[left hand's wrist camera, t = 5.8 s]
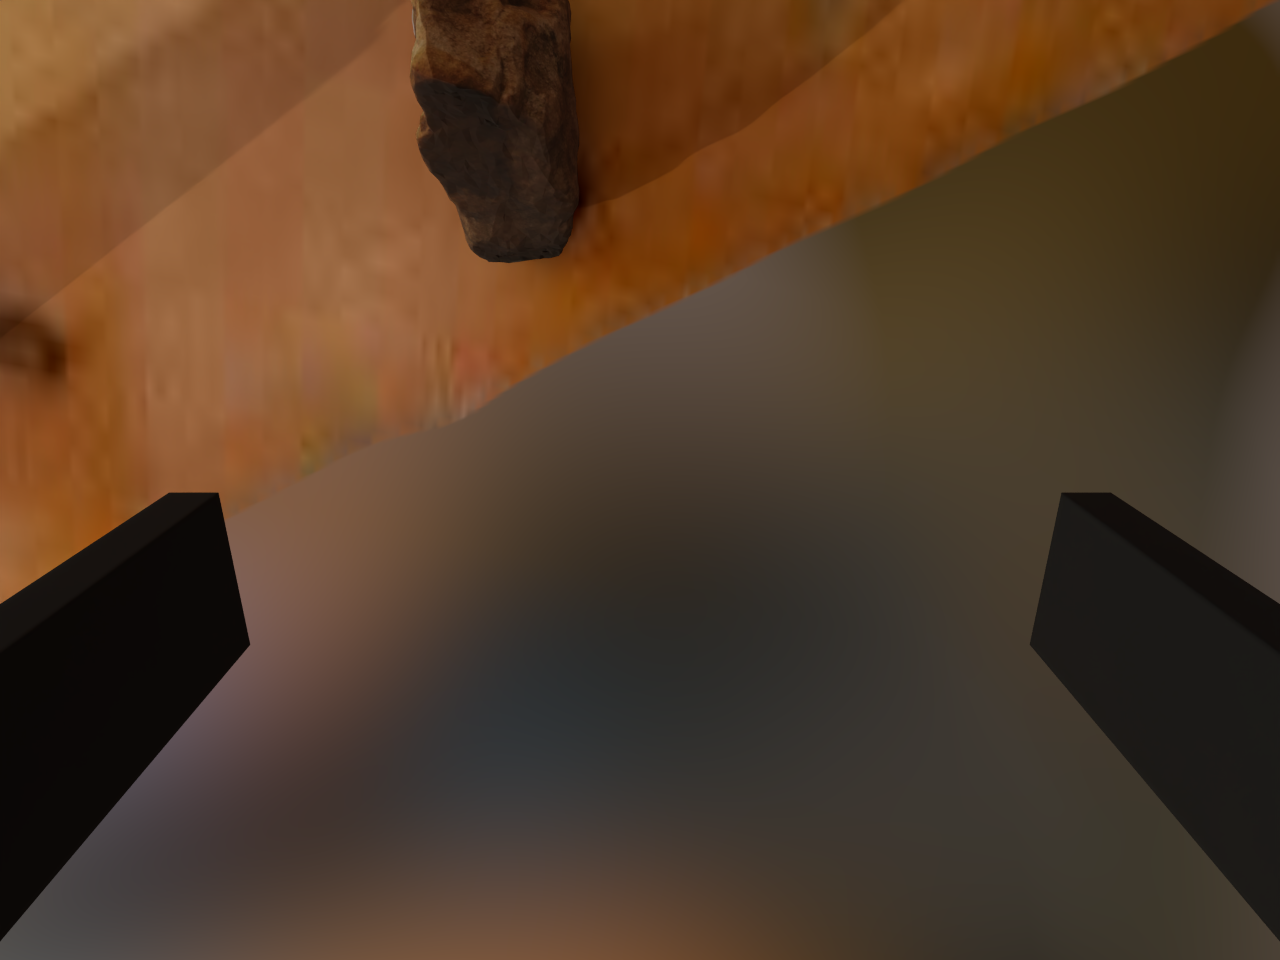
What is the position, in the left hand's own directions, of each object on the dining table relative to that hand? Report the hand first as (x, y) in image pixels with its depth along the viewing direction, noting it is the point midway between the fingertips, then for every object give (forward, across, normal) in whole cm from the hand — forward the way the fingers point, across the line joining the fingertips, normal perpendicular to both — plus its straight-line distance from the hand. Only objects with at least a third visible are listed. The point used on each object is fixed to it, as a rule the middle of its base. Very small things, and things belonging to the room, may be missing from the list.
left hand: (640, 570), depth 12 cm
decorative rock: (+29, -6, +8) cm, 30 cm away
